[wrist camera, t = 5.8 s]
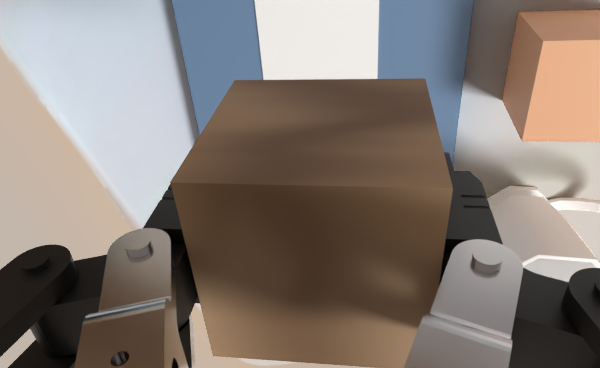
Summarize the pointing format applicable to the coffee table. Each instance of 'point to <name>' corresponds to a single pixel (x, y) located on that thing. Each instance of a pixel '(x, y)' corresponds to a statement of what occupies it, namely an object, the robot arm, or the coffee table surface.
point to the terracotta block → (555, 76)
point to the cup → (542, 231)
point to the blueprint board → (326, 46)
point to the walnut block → (316, 219)
